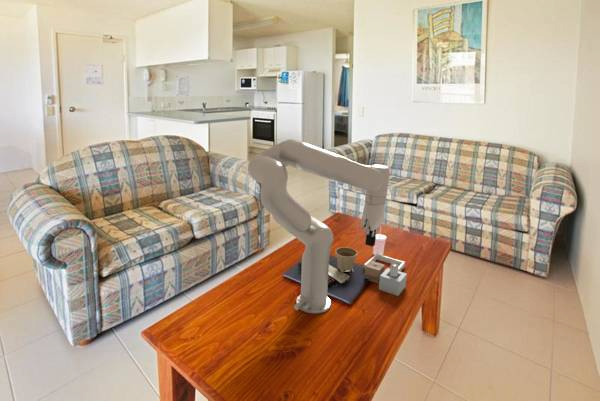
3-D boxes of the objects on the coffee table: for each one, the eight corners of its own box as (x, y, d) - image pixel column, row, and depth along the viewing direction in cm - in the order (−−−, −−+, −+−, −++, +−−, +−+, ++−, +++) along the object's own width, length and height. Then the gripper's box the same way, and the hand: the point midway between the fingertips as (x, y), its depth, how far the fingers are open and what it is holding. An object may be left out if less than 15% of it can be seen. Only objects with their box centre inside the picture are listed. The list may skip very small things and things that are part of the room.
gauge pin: (394, 291, 142) (397, 268, 139) (387, 288, 144) (389, 265, 141) (397, 287, 145) (399, 265, 142) (389, 285, 146) (392, 263, 143)
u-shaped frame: (393, 278, 152) (394, 273, 151) (363, 269, 159) (364, 264, 158) (404, 266, 162) (405, 261, 161) (376, 258, 169) (376, 253, 169)
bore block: (398, 296, 139) (399, 282, 137) (378, 289, 143) (379, 275, 142) (405, 287, 145) (407, 273, 144) (386, 280, 150) (387, 267, 148)
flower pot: (357, 275, 153) (358, 257, 151) (334, 274, 153) (336, 256, 151) (354, 265, 162) (356, 247, 160) (333, 264, 162) (334, 246, 160)
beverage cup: (375, 249, 178) (378, 223, 174) (386, 253, 174) (389, 226, 170) (369, 253, 174) (371, 226, 169) (380, 257, 170) (383, 230, 166)
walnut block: (377, 283, 148) (379, 270, 146) (364, 279, 151) (365, 266, 149) (383, 277, 152) (384, 264, 151) (370, 273, 156) (371, 260, 154)
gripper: (374, 193, 141) (369, 236, 147) (357, 200, 129) (352, 248, 135) (392, 196, 137) (386, 241, 143) (377, 205, 125) (370, 254, 131)
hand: (370, 244), depth 139 cm, fingers closed
